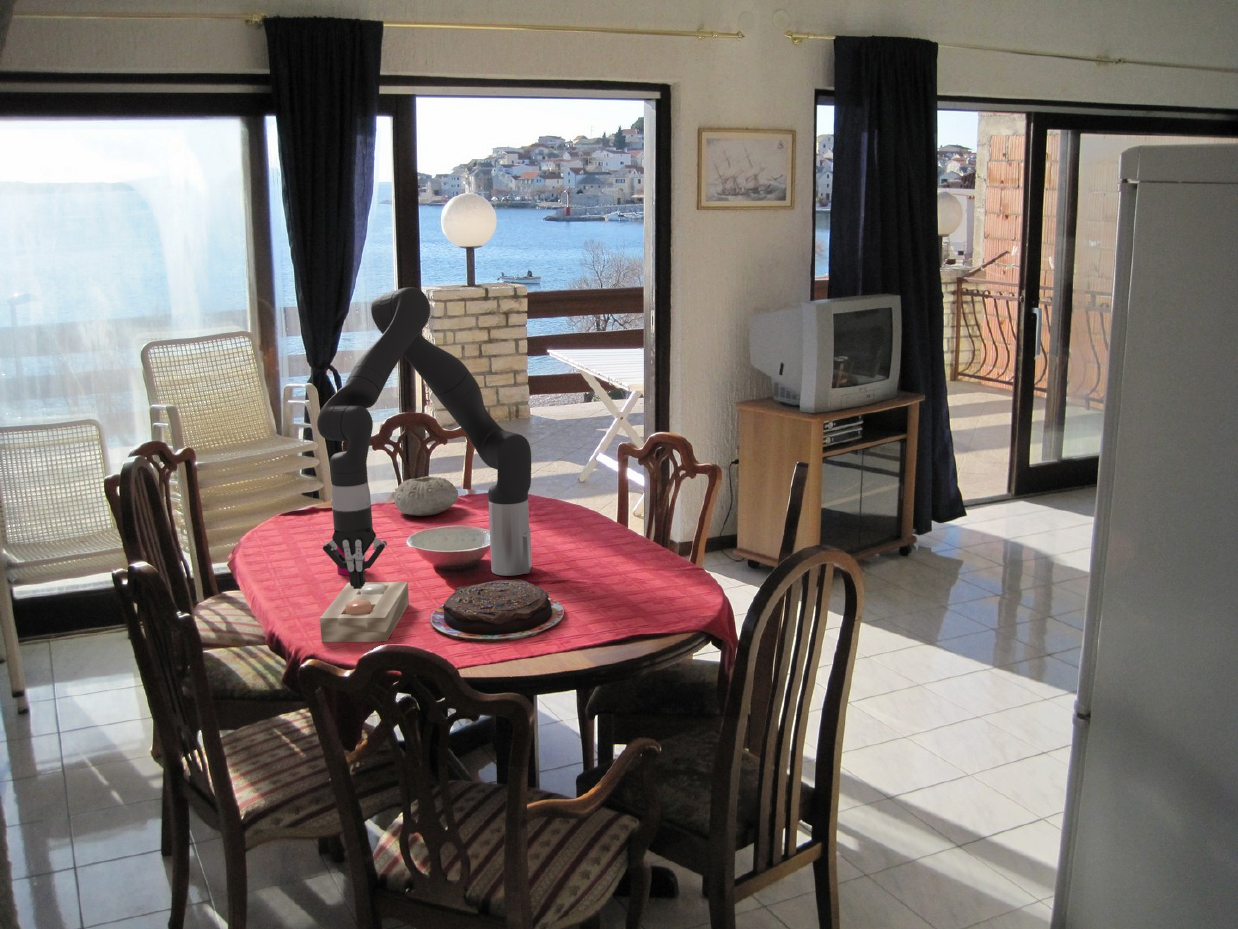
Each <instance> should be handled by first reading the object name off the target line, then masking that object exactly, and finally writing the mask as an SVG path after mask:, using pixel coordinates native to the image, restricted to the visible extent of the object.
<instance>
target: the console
mask: <svg viewBox="0 0 1238 929" xmlns="http://www.w3.org/2000/svg"><path fill="white" fill-rule="evenodd" d="M370 584H380V585H383V586H384V590H385V592H384V594H361V592H360V589H354V588H353V586H351V585H350V582H347V583H346V584H345V586H344V587H343V588H342V589H341V591H340V592H339V593H338V595H337V596H336V597H335V598H334V600H333V601H332V602H331V603H330V605H329V606H328V607H327V609H326V610H325V611H324V612H323V614H321V616H320V617H319V623H320V624H319V625H320V626H319V627H320V637H321V642H322V643H344V642H345V643H346V642H347V643H350V642H351V643H352V642H353V643H359V642H360V643H361V642H362V643H363V642H364V643H366V642H367V643H369V642H370V643H371V642H373V643H376V642H377V643H379V642H381V641H385V642H387V641H388V640H389V638H390V636H391V635H392V633H393V632H394V630H395V628H396V626H397V625H398V623H399V622H400V620H401V618H402V617H403V616H404V613H405V611H406V610H407V608H408V606H409V605H410V597H409V582H408V581H398V582H397V581H389V582H387V581H386V582H385V581H383V582H379V581H378V582H377V581H376V582H374V581H371V582H367V581H366V582H365V584H364V586H365V585H370ZM355 600H367V601H370V602H371V613H370V614H346V604H347V603H348V602H351V601H355ZM374 641H375V642H374ZM381 643H382V642H381Z"/></svg>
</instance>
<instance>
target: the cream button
mask: <svg viewBox="0 0 1238 929" xmlns="http://www.w3.org/2000/svg"><path fill="white" fill-rule="evenodd" d="M360 592H361V594H384V592H385V590H384V586H383V585H380V584H370V585H365V586H363V587H362V588H361V589H360Z"/></svg>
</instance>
